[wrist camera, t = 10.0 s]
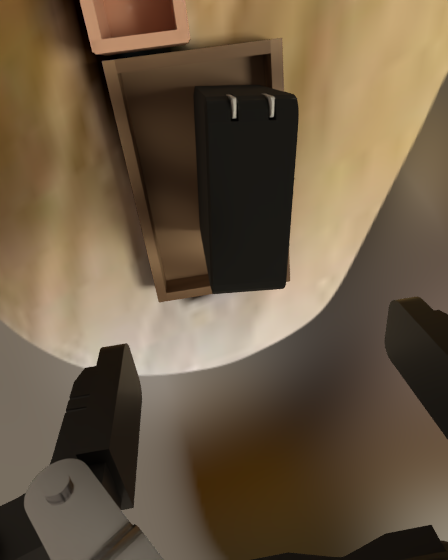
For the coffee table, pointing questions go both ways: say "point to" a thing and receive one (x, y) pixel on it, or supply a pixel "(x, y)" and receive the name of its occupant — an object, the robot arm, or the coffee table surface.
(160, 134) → the trough
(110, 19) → the orange open cube box
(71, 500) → the robot arm
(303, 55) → the coffee table surface
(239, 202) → the electronic device
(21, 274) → the coffee table surface
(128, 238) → the coffee table surface
